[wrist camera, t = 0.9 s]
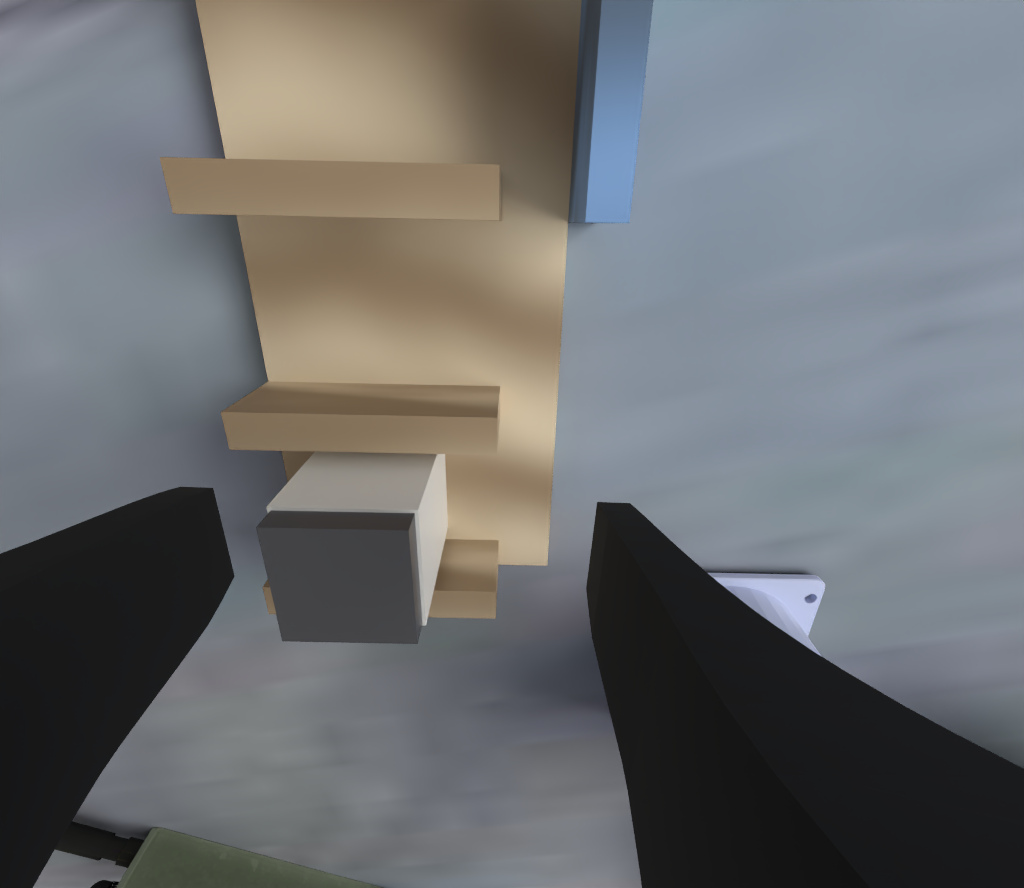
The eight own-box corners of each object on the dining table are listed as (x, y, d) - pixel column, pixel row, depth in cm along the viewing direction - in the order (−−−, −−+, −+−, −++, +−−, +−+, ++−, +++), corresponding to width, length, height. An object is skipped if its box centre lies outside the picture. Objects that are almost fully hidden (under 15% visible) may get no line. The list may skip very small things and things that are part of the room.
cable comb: (569, 551, 21) (584, 642, 16) (311, 546, 21) (255, 636, 16) (622, -102, 13) (683, -285, 8) (193, -112, 13) (11, -302, 8)
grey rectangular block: (448, 526, 19) (421, 646, 14) (346, 524, 19) (279, 643, 14) (443, 432, 18) (412, 527, 12) (333, 430, 18) (251, 524, 12)
